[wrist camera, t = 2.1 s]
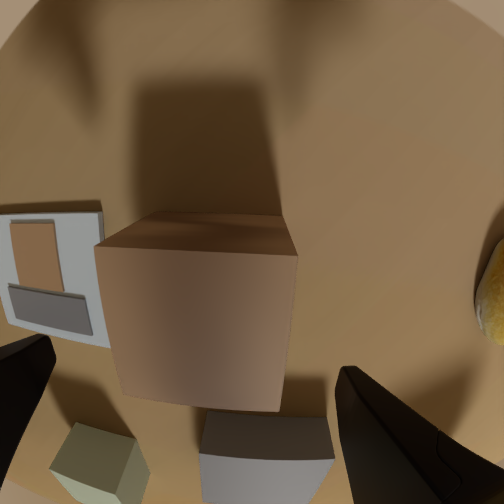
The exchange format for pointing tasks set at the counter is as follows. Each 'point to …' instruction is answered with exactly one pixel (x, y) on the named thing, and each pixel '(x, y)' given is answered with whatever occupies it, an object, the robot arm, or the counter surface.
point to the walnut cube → (200, 308)
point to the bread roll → (492, 297)
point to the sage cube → (101, 467)
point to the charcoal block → (263, 458)
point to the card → (53, 274)
